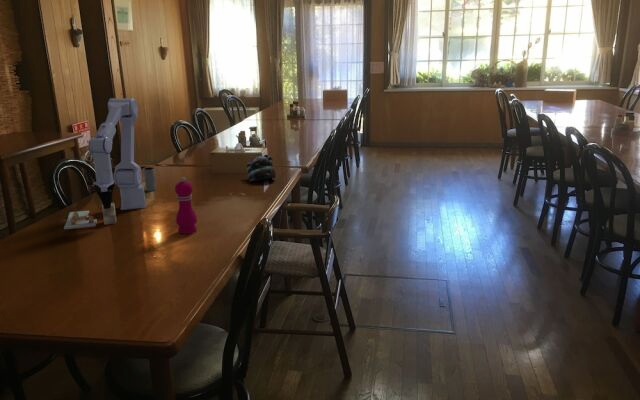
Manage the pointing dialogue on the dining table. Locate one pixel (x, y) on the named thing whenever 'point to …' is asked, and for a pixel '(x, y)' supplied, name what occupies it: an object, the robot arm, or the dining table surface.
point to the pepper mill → (185, 208)
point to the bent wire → (80, 218)
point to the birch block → (109, 215)
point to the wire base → (79, 224)
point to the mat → (79, 213)
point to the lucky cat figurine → (261, 168)
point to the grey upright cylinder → (150, 179)
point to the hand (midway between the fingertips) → (108, 205)
